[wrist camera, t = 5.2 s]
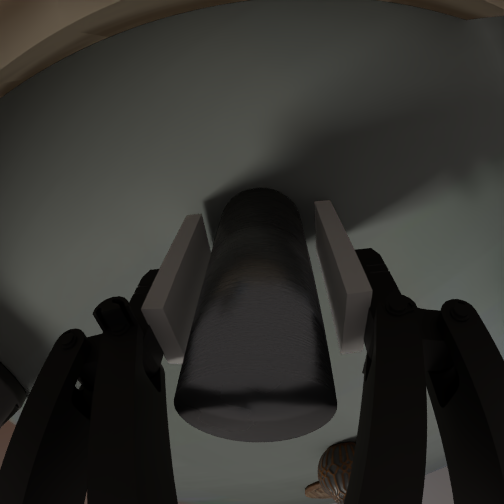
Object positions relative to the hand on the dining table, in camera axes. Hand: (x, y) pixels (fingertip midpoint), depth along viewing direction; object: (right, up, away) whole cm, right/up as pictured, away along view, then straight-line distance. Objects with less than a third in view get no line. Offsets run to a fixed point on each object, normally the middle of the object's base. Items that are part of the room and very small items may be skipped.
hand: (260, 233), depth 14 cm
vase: (+11, -27, +17) cm, 34 cm away
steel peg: (0, 0, +1) cm, 1 cm away
